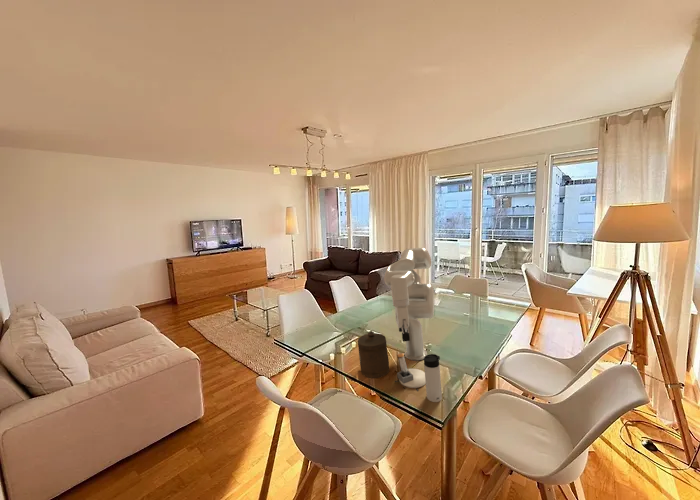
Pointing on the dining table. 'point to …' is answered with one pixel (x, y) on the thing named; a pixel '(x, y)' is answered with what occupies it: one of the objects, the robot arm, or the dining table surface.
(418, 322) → the robot arm
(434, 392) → the travel mug
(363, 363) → the wooden container
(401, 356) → the peg
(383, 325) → the dining table surface
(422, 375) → the dial
